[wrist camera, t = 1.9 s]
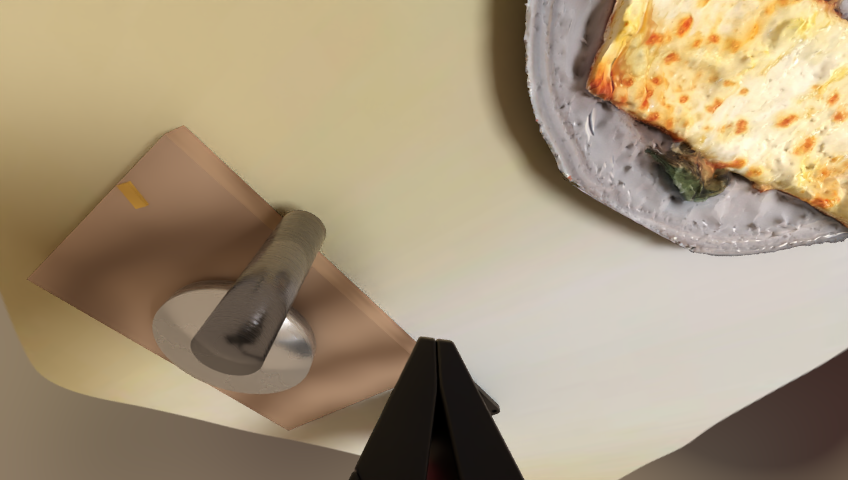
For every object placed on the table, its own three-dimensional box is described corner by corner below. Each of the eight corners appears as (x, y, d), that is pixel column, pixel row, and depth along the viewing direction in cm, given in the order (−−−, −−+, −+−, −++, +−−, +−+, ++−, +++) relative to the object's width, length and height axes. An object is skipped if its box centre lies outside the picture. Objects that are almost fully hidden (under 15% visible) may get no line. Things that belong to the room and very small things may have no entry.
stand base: (430, 355, 27) (430, 374, 26) (294, 414, 32) (287, 432, 31) (183, 125, 17) (161, 135, 16) (48, 264, 23) (23, 281, 21)
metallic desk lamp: (284, 394, 27) (235, 518, 20) (152, 345, 24) (43, 472, 17) (394, 258, 19) (371, 389, 12) (216, 161, 16) (62, 264, 10)
